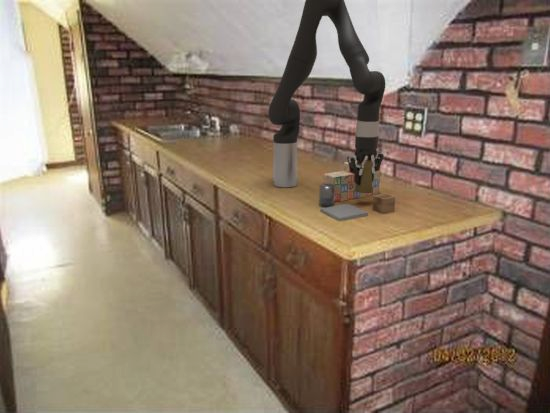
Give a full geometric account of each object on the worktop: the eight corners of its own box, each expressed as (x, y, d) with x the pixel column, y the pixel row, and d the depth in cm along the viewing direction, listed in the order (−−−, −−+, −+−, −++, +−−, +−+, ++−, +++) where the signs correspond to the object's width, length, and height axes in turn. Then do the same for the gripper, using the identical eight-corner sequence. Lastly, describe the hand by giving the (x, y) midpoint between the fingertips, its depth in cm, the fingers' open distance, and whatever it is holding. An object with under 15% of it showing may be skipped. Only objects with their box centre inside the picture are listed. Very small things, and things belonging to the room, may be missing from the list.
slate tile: (320, 211, 155) (320, 208, 155) (347, 206, 160) (347, 203, 160) (339, 221, 146) (339, 218, 146) (368, 215, 151) (368, 212, 151)
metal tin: (316, 204, 163) (316, 185, 161) (328, 202, 165) (329, 183, 163) (324, 208, 158) (324, 188, 156) (336, 206, 161) (337, 186, 158)
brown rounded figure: (376, 192, 160) (378, 160, 156) (360, 194, 158) (362, 161, 154) (366, 187, 165) (368, 156, 162) (351, 189, 163) (353, 158, 160)
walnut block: (372, 210, 157) (373, 195, 155) (384, 207, 159) (385, 193, 157) (382, 214, 152) (383, 199, 151) (394, 211, 154) (395, 197, 153)
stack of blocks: (333, 203, 165) (334, 168, 161) (322, 198, 170) (323, 165, 166) (379, 193, 175) (381, 161, 171) (367, 190, 180) (369, 158, 176)
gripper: (376, 131, 162) (373, 179, 167) (342, 134, 156) (340, 184, 161) (391, 134, 155) (387, 184, 161) (356, 137, 149) (353, 190, 155)
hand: (363, 184), depth 161 cm, fingers closed on brown rounded figure, 4 cm apart
